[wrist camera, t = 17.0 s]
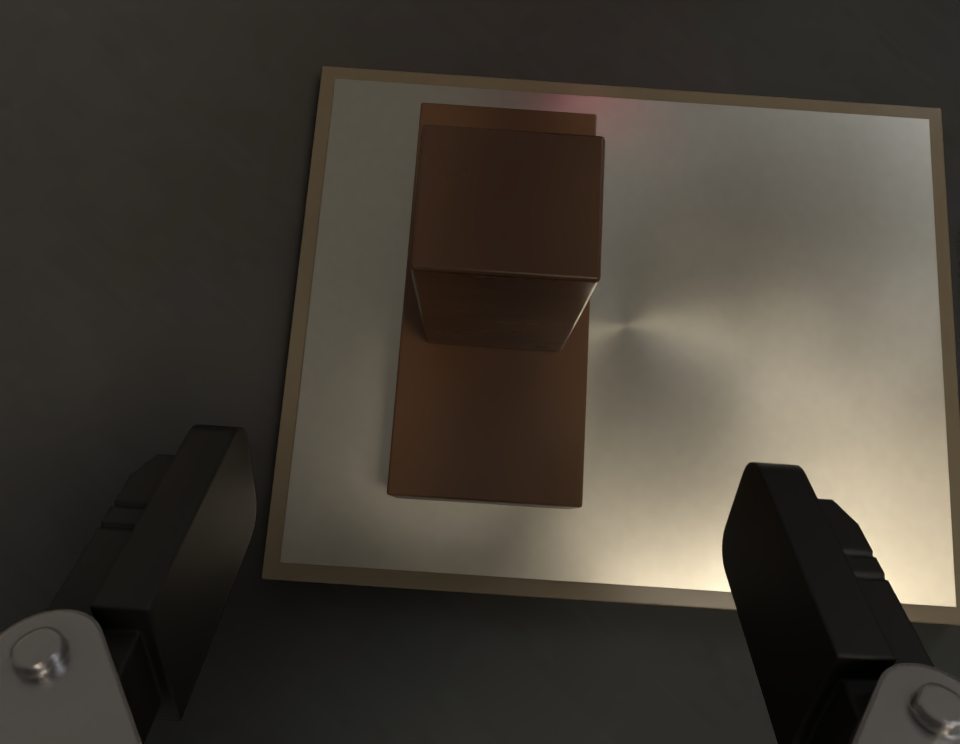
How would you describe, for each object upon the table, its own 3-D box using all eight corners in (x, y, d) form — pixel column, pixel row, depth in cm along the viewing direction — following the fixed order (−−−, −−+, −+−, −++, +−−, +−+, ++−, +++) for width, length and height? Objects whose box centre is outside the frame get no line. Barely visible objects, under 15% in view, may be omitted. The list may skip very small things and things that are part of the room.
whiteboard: (269, 576, 22) (259, 579, 21) (326, 81, 25) (321, 63, 24) (953, 622, 22) (975, 627, 21) (925, 122, 25) (944, 105, 24)
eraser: (395, 498, 22) (349, 482, 13) (425, 143, 24) (403, -60, 15) (570, 509, 22) (633, 501, 13) (584, 153, 24) (646, -42, 15)
